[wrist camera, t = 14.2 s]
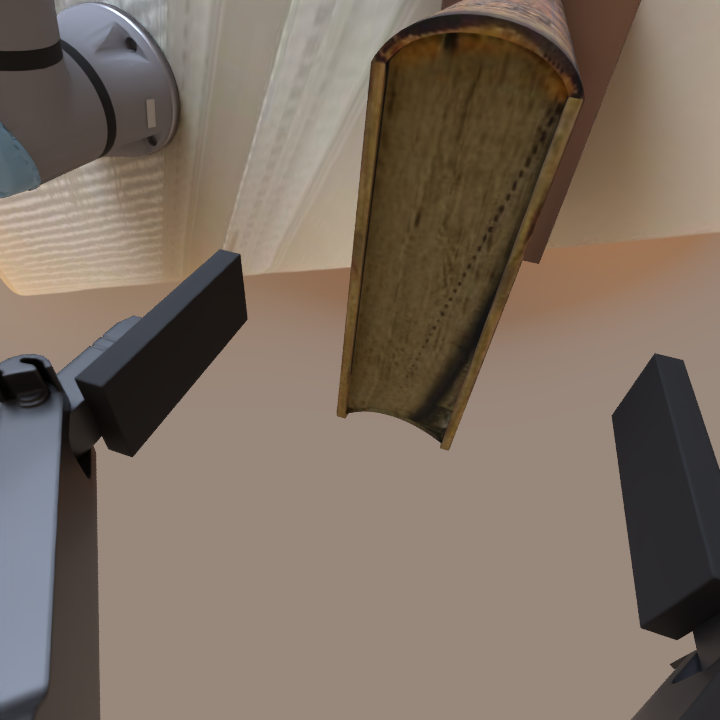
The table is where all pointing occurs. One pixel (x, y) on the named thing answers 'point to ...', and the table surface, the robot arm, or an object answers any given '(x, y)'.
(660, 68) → the table surface
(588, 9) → the shelf
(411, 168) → the book
